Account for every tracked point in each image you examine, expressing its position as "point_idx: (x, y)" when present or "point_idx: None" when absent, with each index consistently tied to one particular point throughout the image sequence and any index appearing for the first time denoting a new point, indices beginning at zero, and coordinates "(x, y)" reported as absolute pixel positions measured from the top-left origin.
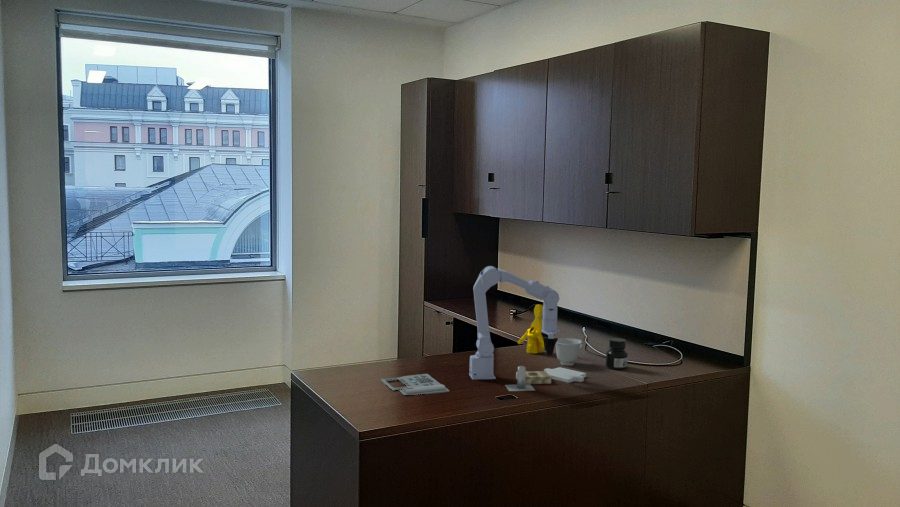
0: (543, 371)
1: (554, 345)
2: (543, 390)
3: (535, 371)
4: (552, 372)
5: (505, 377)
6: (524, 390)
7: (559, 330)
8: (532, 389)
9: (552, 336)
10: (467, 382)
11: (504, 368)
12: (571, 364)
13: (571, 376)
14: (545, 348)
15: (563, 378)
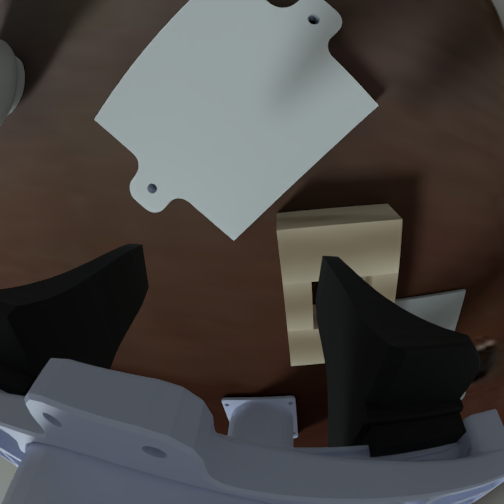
0: (287, 244)
1: (400, 311)
2: (464, 256)
3: (287, 288)
4: (217, 170)
5: (263, 368)
6: (454, 325)
7: (133, 433)
8: (453, 299)
9: (495, 446)
10: (319, 440)
11: (131, 351)
12: (19, 63)
13: (309, 64)
14: (142, 295)
15: (354, 126)
